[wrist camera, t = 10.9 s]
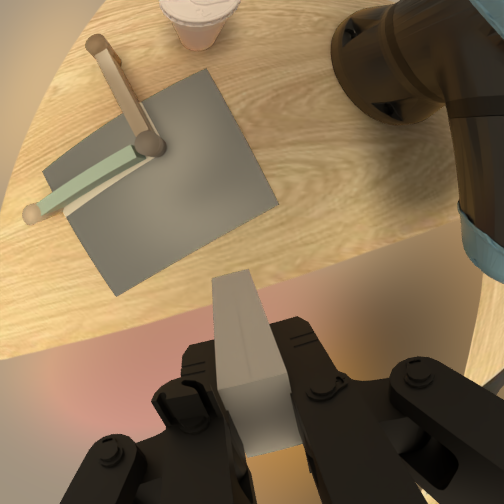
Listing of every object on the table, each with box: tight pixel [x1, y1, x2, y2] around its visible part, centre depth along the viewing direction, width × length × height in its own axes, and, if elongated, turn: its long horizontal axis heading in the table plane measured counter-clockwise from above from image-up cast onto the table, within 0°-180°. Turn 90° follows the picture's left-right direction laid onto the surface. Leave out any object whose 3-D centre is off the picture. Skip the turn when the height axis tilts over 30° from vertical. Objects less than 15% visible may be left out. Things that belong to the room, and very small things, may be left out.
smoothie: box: [159, 0, 240, 51], centre depth 19 cm, size 6×6×14 cm
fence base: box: [85, 34, 167, 158], centre depth 23 cm, size 2×13×7 cm, turn 27°
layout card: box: [42, 68, 279, 297], centre depth 29 cm, size 20×16×1 cm
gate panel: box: [22, 144, 146, 225], centre depth 25 cm, size 12×2×6 cm, turn 113°
